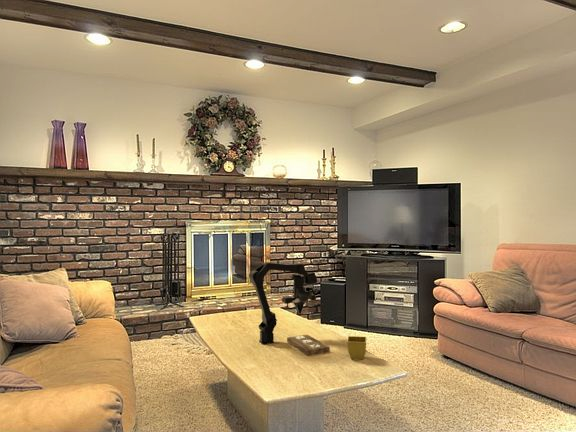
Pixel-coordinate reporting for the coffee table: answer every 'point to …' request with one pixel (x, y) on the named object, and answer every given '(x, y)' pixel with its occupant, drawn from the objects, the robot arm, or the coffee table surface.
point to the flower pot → (356, 347)
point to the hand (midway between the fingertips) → (299, 313)
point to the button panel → (308, 345)
